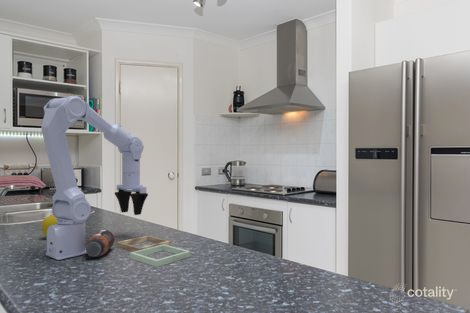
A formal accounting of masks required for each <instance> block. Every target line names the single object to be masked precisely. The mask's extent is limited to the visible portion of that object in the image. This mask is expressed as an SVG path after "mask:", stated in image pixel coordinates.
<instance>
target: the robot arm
mask: <svg viewBox="0 0 470 313" xmlns="http://www.w3.org/2000/svg"><path fill="white" fill-rule="evenodd" d="M43 111H44V115H43V119H42V124H41V134H42V138H43V142H44V145H45V150H46V153H47V158H48V162H49V167H50V171H51V175H52V178H53V179H52V180H53V182H54V187H55V190H56V191H55V193H54V194H53V195H52V207H51V213H52V215H53V216H55V217H56V218H57V224H55V225H52V226H49V227H48V229H47V237H46V253H45V256H47V257H50V258H52V259H54V260H57V261H60V260H65V259H69V258H73V257H78V256H81V255H86V254H87V252H86V247H85V246H86V223H87V219H88V218H90V214H91V212H92V207H91V204H90V202H89V201H88V200H87V199H86V195H85V193H84V192H83V191H82V190H81V189H80V188H79V187H78V182H77V177H76V174H75V170H74V164H73V161H72V160H73V159H72V156H71V153H70V152H71V151H70V149H69V148H70V147H69V143H68V138H67V135H66V132H67V131H68V130H69V129H70V127H71V126H72V125H73V124H75V123H76V122H78V121H83V122H85V123H87V124H88V125H90V126H92V128H95V129H96V130H98V131H100V132H101V133H103V137H104V139H105V140H106V141H108V142H110V143H111V144H112V145H114V146H116V147H117V149H118V152H119V153H120V154H121V160H122V161H121V184H116V191H115V192H114V195H115V197H116V200H117V201H118V204H119V207H120V211H121V213H128V211H129V206H130V198H131V201H132V205H133V214H134V216H140V215H142V212H143V207H144V204H145V201H146V200H147V197H148V196H149V193H148V192H147V187H146V186H143V184H141V183H140V182H141V181H140V180H141V178H140V175H141V174H140V172H141V158H142V153H143V151H144V148H145V145H144V144H143V141H142V140H141V139H140V138H139V137H136V136H133V135H132V133H130V132H128V131H126V130H125V129H124V128H122V125H121V124H119V123H118V124H117V123H111V124H110V123H109V122H108V121H107V120H106V119H105V118H104V117H103V116H101V115H100V114H99V113H98V112H96V111H95V110H94V109H93V108H92V107H90V104H89V102H87V101H85V100H84V99H83V98H81V97H80V96H78V95H70V96H66V97H60V98H59V97H58V98H57V97H56V98H51V99H49V101H48V102H47V103H46V104H45V105H44V107H43ZM87 255H88V254H87Z"/></svg>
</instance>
